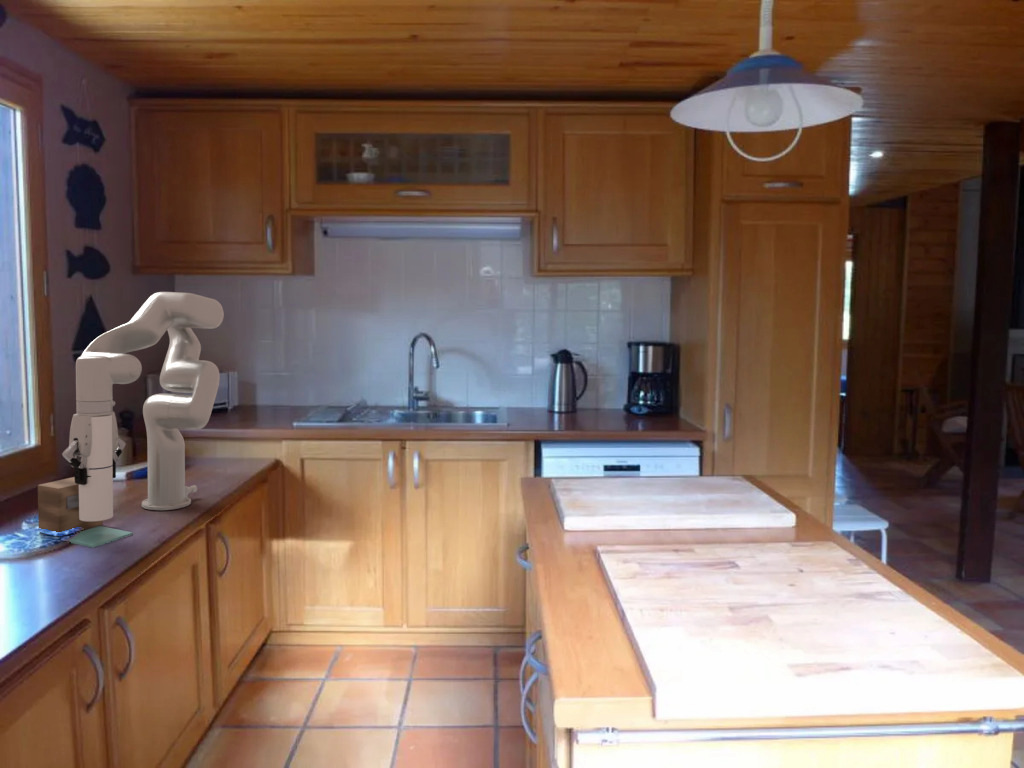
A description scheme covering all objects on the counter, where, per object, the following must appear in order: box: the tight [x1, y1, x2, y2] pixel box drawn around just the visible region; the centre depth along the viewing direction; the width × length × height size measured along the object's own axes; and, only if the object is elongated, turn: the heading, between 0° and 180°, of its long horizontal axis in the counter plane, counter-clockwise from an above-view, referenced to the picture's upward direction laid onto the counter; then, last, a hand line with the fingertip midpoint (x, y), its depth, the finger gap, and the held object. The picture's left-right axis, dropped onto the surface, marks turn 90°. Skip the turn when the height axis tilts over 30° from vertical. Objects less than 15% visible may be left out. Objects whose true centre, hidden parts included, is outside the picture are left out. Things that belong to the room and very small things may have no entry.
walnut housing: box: [37, 476, 104, 532], centre depth 184 cm, size 12×8×12 cm, turn 159°
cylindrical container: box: [78, 414, 114, 521], centre depth 177 cm, size 7×7×25 cm
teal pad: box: [69, 525, 134, 549], centre depth 179 cm, size 11×11×1 cm
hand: (95, 480), depth 177 cm, fingers closed on cylindrical container, 7 cm apart
